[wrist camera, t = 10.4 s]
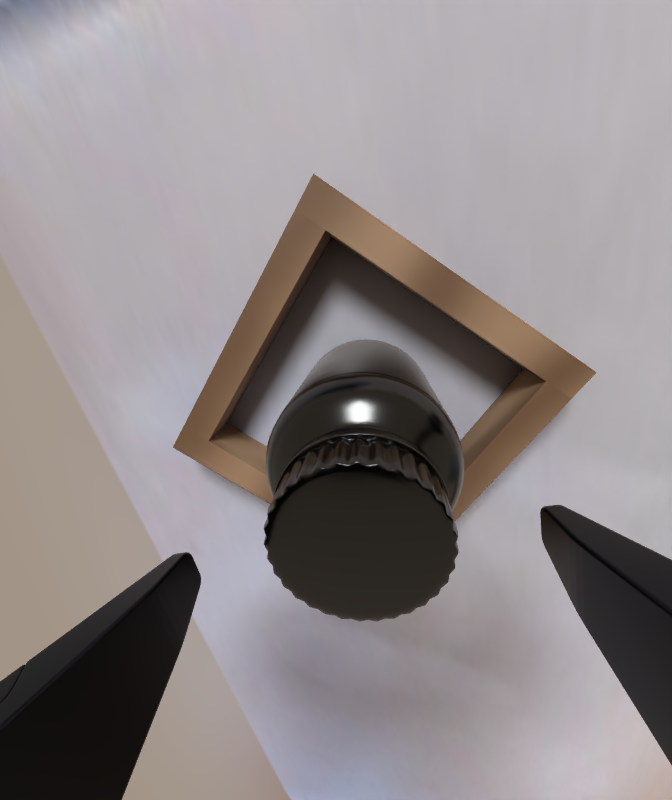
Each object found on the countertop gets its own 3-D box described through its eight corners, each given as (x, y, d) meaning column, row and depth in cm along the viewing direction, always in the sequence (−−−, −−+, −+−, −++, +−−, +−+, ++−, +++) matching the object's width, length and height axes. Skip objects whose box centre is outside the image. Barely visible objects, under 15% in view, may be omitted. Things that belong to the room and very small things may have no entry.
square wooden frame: (566, 360, 18) (596, 372, 16) (396, 547, 23) (399, 578, 21) (321, 188, 16) (313, 173, 14) (194, 428, 21) (172, 447, 19)
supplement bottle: (453, 384, 19) (577, 538, 8) (377, 471, 21) (387, 690, 10) (351, 309, 18) (321, 359, 7) (283, 408, 20) (176, 568, 9)
